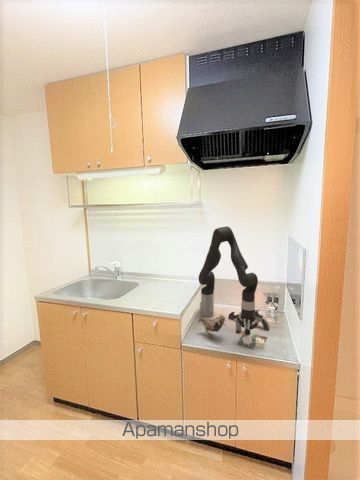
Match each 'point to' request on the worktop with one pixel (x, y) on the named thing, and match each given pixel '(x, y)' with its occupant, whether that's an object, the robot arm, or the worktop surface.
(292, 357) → the worktop surface
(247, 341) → the dome
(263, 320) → the gun
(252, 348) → the popper base
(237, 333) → the track
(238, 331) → the pawn
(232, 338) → the worktop surface
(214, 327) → the stuffed bird
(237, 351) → the worktop surface
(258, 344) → the die
